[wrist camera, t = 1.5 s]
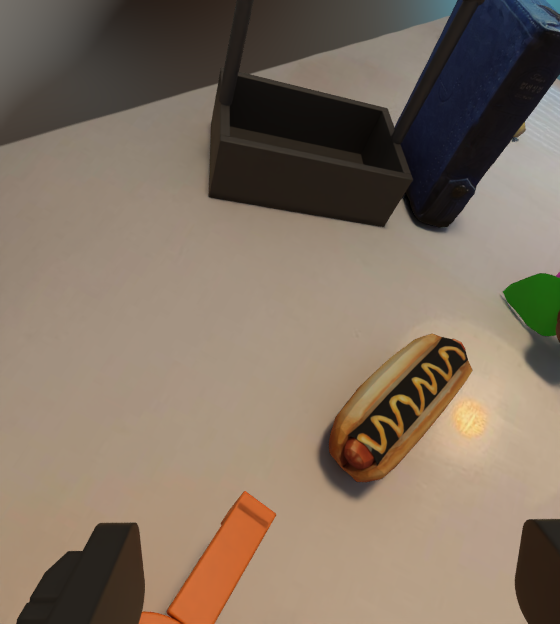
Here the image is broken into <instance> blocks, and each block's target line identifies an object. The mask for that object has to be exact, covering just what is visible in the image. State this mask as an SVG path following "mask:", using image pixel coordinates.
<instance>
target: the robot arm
mask: <svg viewBox="0 0 560 624" xmlns="http://www.w3.org/2000/svg"><path fill="white" fill-rule="evenodd" d="M515 590H516V596H517V600H518V603H519V606H520V609H521V611H522V613H523V615H524V617H525V619H526V621H527V622H528V624H560V519H529V520H527V521H526V522H525V523H524V525H523V530H522V536H521V543H520V549H519V556H518V562H517V568H516V575H515ZM144 593H145V580H144V571H143V561H142V552H141V543H140V533H139V527H138V525H137V523H99V524H98V525H97V526H96V527H95V529H94V531H93V533H92V534H91V536H90V538H89V540H88V542H87V544H86V546H85V548H84V549H83V551H68V552H67V553H66V554H65V555H64V556H63V557H62V558H60V559H59V560H58V561H57V562H56V563H55V564H54V565H53V566H52V567H51V568H50V569H48V570H47V571H46V572H45V574H44V575H43V577H42V579H41V580H40V582H39V584H38V585H37V587H36V589H35V590H34V592H33V594H32V595H31V597H30V602H29V603H27V604H26V605H25V607H24V609H23V610H22V612H21V614H20V615H19V617H18V619H17V623H16V624H139V621H140V617H141V613H142V609H143V603H144Z"/></svg>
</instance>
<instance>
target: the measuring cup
mask: <svg viewBox="0 0 560 624" xmlns="http://www.w3.org/2000/svg"><path fill="white" fill-rule="evenodd" d="M275 516H276V513H274V512H273V511H272V510H270V509H269V508H268V507H266V506H265V505H263V504H262V503H261V502H259V501H258V500H257V499H255V498H254V497H253V496H251V495H250V494H249V493H247V492H246V491H244V492H243V493H242V495H241V496H240V497H239V498H238V500H237V501H236V502H235V503H234V505H233V506H232V507H231V509H230V510H229V511H228V513H227V514H226V516H225V518H224V519H223V521H222V522H221V527H220V529H219V530H218V532H217V533H216V535H215V536H214V538H213V539H212V541H211V543H210V544H209V546H208V547H207V549H206V550H205V552H204V553H203V555H202V557H201V558H200V560H199V561H198V563H197V564H196V566H195V567H194V569H193V571H192V572H191V574H190V575H189V577H188V578H187V580H186V581H185V583H184V585H183V586H182V588H181V589H180V591H179V592H178V594H177V595H176V597H175V599H174V600H173V602H172V603H171V605H170V606H169V608H168V610H167V614H168V615H169V616H170V617H169V616H166V615H163V614H159V613H154V612H142V613H141V617H140V621H139V624H214V623H215V622H216V620H217V618H218V616H219V615H220V613H221V611H222V609H223V608H224V606H225V604H226V602H227V601H228V599H229V597H230V595H231V594H232V592H233V590H234V588H235V586H236V585H237V583H238V581H239V579H240V578H241V576H242V574H243V572H244V571H245V569H246V567H247V565H248V564H249V562H250V560H251V558H252V557H253V555H254V553H255V551H256V550H257V548H258V546H259V544H260V543H261V541H262V539H263V537H264V535H265V534H266V532H267V530H268V529H269V527H270V525H271V523H272V522H273V520H274V518H275Z"/></svg>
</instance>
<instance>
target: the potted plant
mask: <svg viewBox="0 0 560 624" xmlns="http://www.w3.org/2000/svg"><path fill="white" fill-rule="evenodd" d="M503 293H504V295H505V298H506V300H507V302H508V303H509V304H510V305H511V306H512V307H513V308H514V309H515V311H516V312H517V313H518V314H519V315H520V317H521V318H522V319H523V320H524V322H525V323H526V324H527V325H528V326H529V327H530V328H531V329H533V330H534V331H536V332H537V333H539V334H541V335H543V336H555V335H556V336H557V338H558V340H559V342H560V272H559V273H558V274H557V275H556V276H553V275H550V274H546V273H539V274H536V275H533V276H531V277H528V278H525V279H523V280H520V281H518V282H515V283H513V284H511V285H509V286H508V287H507V288H506V289H505V290H504V291H503Z"/></svg>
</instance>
